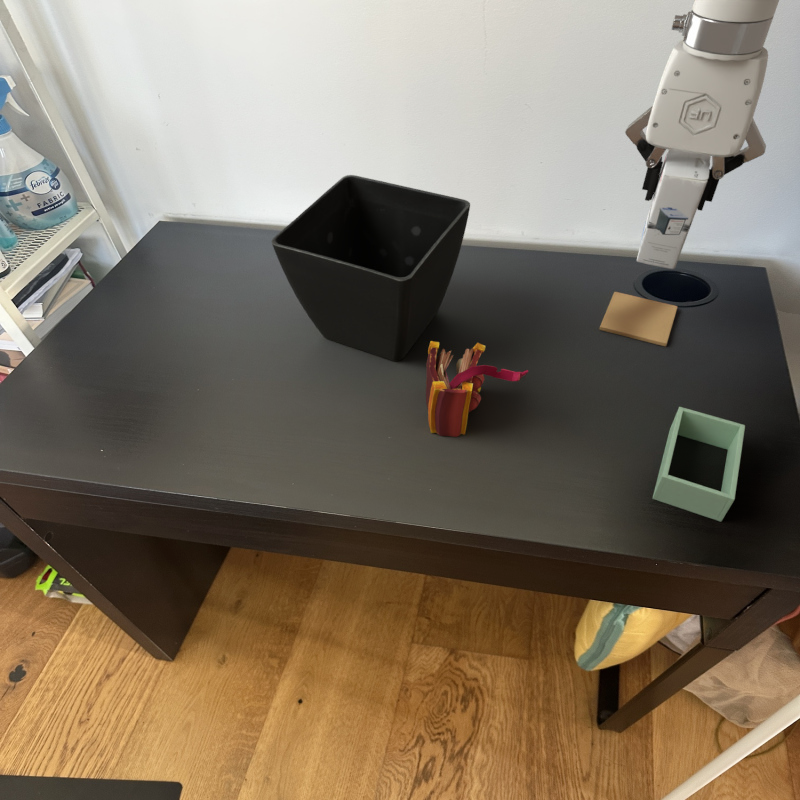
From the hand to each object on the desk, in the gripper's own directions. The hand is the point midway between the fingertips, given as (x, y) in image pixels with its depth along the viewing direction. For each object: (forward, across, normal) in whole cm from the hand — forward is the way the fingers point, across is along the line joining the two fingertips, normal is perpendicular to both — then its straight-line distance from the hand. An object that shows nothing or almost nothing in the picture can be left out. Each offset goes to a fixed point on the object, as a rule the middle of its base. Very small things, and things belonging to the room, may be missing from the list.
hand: (675, 198), depth 76 cm
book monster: (+19, -15, -27) cm, 36 cm away
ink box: (+7, 0, 0) cm, 7 cm away
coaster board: (+18, 0, 0) cm, 18 cm away
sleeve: (+19, +11, -25) cm, 33 cm away
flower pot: (+19, -33, -16) cm, 41 cm away
